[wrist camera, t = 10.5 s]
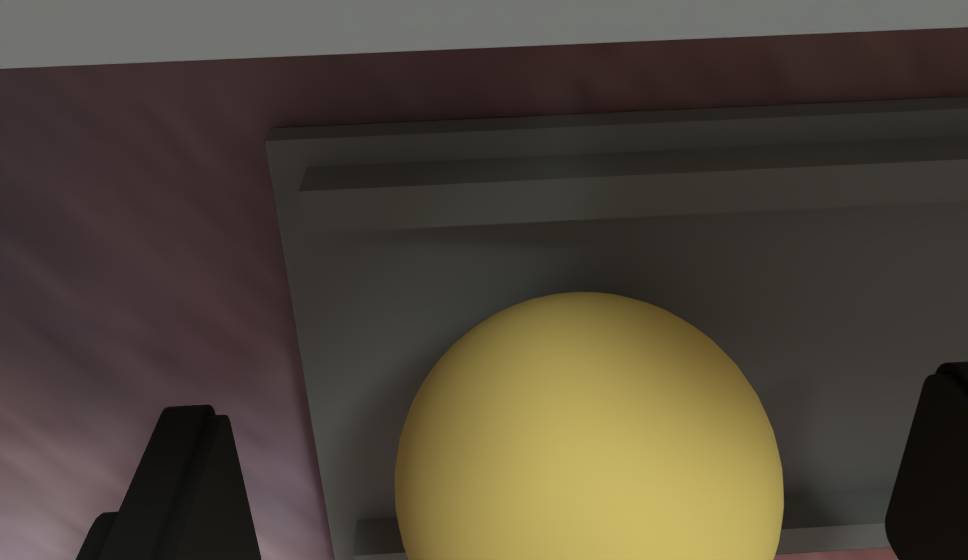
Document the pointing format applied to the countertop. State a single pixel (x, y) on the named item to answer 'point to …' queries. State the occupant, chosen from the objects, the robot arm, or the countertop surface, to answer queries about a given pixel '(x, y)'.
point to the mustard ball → (587, 442)
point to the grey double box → (413, 25)
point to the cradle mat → (638, 273)
